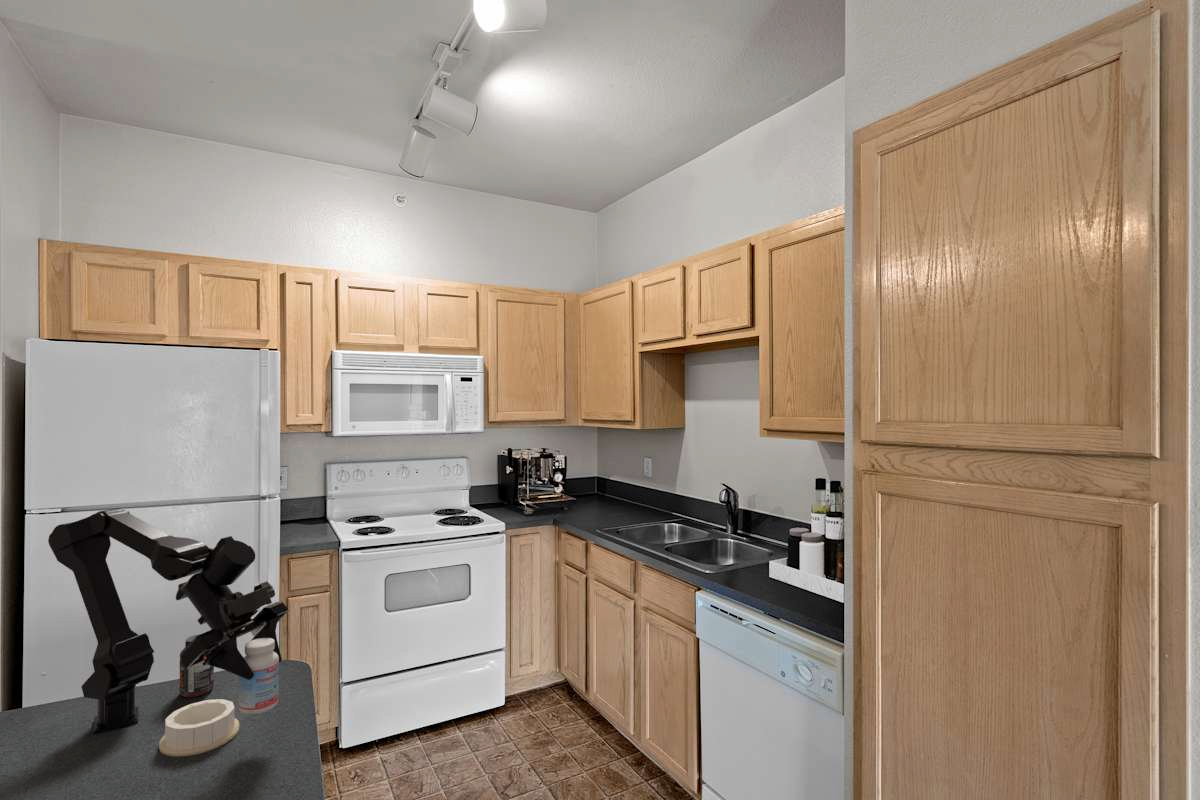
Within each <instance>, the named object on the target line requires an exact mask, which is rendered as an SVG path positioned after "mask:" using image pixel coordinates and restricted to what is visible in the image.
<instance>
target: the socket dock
mask: <svg viewBox="0 0 1200 800" xmlns="http://www.w3.org/2000/svg"><path fill="white" fill-rule="evenodd" d="M164 722H165V725H164V728H165V729H164V732H165V733H164V735H163V736H162V737H161V738H160V739H159V741H158V742H159V743H158V750H159V751H160V753H161V754H163V755H164V756H166V757H173V758H175V757H176V758H179V757H180V758H182V757H189V756H196V755H200V754H203V753H206V752H210V751H212V750H213V751H214V749H218V748H219V747H222V746H224V745H225V744H226V743H229V742H230V741H232V740H233V739H234V738H235V737H236V736H237V735H238V734H239V732H240V731H239V730H240V721H239V720H238V719H237V718H236V717H235V705H234V702H233V701H231V700H227V699H223V698H220V699H217V698H216V699H206V700H202V701H198V702H197V701H196V702H193V703H190V704H187V705H185V706H183V707H180V708H179V709H176V710H174V711H172V712H171V713H170V714H169V715H168V716H167V717H166V718H165V719H164Z"/></svg>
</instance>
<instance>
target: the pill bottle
mask: <svg viewBox="0 0 1200 800" xmlns="http://www.w3.org/2000/svg"><path fill="white" fill-rule="evenodd" d="M251 640H252V639H251ZM251 640H250V641H248V642H246V643H245V645H244V655H245V656H243V658H244V659H245V661H246V662H247V664H248V665H249V667H250V668H251V670H252V672H253V674H254V676H253V677H252V678H251V679H250V680H248V679H245V678H243V677H241V676H238V677H239V680H238V681H239V685H238V687H239V688H238V710H239V711H240V712H241V713H243V714H251V715H252V714H256V715H257V714H261V713H264V712H267V711H269V710H271V709H273V708H274V707H276V706H277V705H278V702H279V683H280V682H279V681H280V679H279V675H280V670H279V669H280V663H279V656H278V654H277V653H276V652H274V651H273V650H274V647H275V640H274V639H272V638H259V639H255V640H252V641H251Z"/></svg>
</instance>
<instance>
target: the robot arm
mask: <svg viewBox="0 0 1200 800" xmlns="http://www.w3.org/2000/svg"><path fill="white" fill-rule="evenodd" d="M111 538H112V539H114V540H116V541H117V542H119V543H121V544H122V545H124V546H126V547H128V548H129V549H132V551H135V552H136V553H138V554H141V555H142V556H145V557H146V559H148V560H150V564H151V565H150V566H151V569H152V570H153V571H154V572H156V573H158V575H159V576H160V577H162V578H163V579H165V580H167V581H168V582H169V581H170V582H171V581H172V582H173V581H176V580H180V579H184V578H187V577H189V576H190V578H188V580H187V581H185V582H182V583H179V584H178V587H177V588H178V589H177V591H176V595H175V600H176V601H180V600H183V599H185V598H188V599H189V601H190V603H191V604H192V606H194V608H195V609H196V611H197V612H198V613H199V614H200V617H199V618H198V619H197V622H198V623H199V625H200V626H201V625H203V624H207V626H208V627H209V628H210V629H209V630H207V631H206V632H203V633H200V635H198V634H197V635H198V636H196V637H195V638H194V640H193V641H192V642H191V643H190V644H189V645H188V646H187V647H186V646H185V647H186V648H185V647H184V648H185V649H184V648H183V649H184V650H183V649H182V650H183V651H182V650H181V651H182V652H181V651H180V653H181V662H182V663H183V664H184V666H185V667H186V668H187V669H189V668H191V667H193V666H195V665H197V664H199V663H201V662H202V661H203V659H204V654H205V657H206V658H207V659H206V660H205V661H204V662H203V663H202V664H203V665H204V666H206V665H211V666H214V668H218V669H220V670H223V671H226V672H229V673H231V674H234V675H236V676H238V677H239V676H241V677H243V678H245V679H248V680H250V679H251V678H252V677H253V676H254V674H253V672H252V670H251V668H250V667H249V665H248V664H247V662H246V661H245V659H244V656H243V655H242V653H241V652H240V650H239V649H238V639H237V638H239V637H241V636H244V635H247V634H248V633H251V634H252V636H253V637H252V639H251V640H250V641H252V640H255V639H259V638H272V639H274V640H275V647H274V650H273V651H274V652H276V653H277V654H278V656H279V664H280V663H281V662H282V661H283V660H282V659H283V658H282V655H281V650H280V646H279V642H278V638H277V631H276V630H277V625H278V623H279V622H280V621H281V620H282V618H283V617H285V615H287V613H288V612H289V608H288V607H287V605H285V603H284V602H283V601H276V602H274V603H273V602H272V598H274V597H275V595H276V592H275V589H274V587H273V586H272V585H271V584H270V582H268V580H267V581H264V582H261V583H260V584H256V585H255V586H253V591H251V592H248V593H246V594H243V593H242V592H241V591H236V592H233V591H232V590H231V588H230V587H229V586H230V585H232V584H234V583H235V582H236V581H237V580H238V579H239V578H240V577H241V576H242V574H243V573H245V571H246V570H247V569H248V568H249V567H250V566H251V565H252V564H253V563H254V561H255V560H256V553H255V552H256V551H254V548H252V546H251V545H248V544H247V543H245V542H244V541H243V542H242V541H241V540H235V539H234V538H233V536H232V535H230V536H229V535H228V536H226V537H222V538H220V539H219V540H218V542H217V543H216V546H214V548H212V547H209V546H208V545H207V544H205V543H204V542H202V541H199V540H196V539H193V538H189V537H180V536H179V537H178V536H173V535H170V534H168V533H166V532H165V531H162V530H161V529H158V528H157V527H155V526H154V525H151V524H150V523H148V522H146V521H144V520H142V519H140V518H139V517H136V516H135V515H133V514H131V512H130V511H129V510H128V509H127V508H121V507H118V508H112V509H105V510H101V511H100V510H99V511H97V512H96V513H93V514H92V515H90V516H88V517H85V518H81V519H80V520H75V521H74V522H67V523H62V524H59V525H57V526H55V527H54V528H53V529H52V532H51V533H50V534H49V536H48V545H49V547H50V549H51V552H52V553H53V555H54V556H55V558H56V561H57V562H58V563H60V564H62V565H63V566H64V567H66V568H68V569H69V570H70V571H72V573H73V575H74V578H75V581H76V584H77V586H78V589H79V592H80V595H81V597H82V601H83V603H84V606H85V609H86V612H87V616H88V618H89V621H90V623H91V626H92V629H93V632H94V635H95V637H96V641H97V645H96V649H95V652H94V655H93V658H92V667H93V670H94V671H93V672H92V673H91V675H90V676H89V677H88V678H87V680H85V681H84V683H83V684H82V685H81V691H82V695H83V697H84V698H85V699H86V698H88V699H91V700H92V699H94V700H96V716H95V717H94V720H93V721H94V722H93V734H96V733H97V734H98V733H101V732H104V731H109V730H113V729H117V728H120V727H126V726H128V725H133V724H136V723H138V722H139V707H138V706H136V701H137V698H136V696H137V694H136V692H137V690H136V688H137V685H138V684H140V683H142V682H146V681H147V680H148V678H149V676H150V673H151V670H152V667H153V664H154V663H155V658H154V653H155V650H154V648H153V647H152V645H151V643H150V637H149V636H148V634H147V633H145V632H144V633H141V634H138V633H136V632H135V631H133V630H132V629H131V627H130V624H129V622H128V618H127V616H126V613H125V611H124V606H123V605H122V602H121V599H120V597H119V594H118V591H117V588H116V585H115V582H114V580H113V576H112V573H111V571H110V568H109V564H108V562H107V556H108V554H109V551H110V549H111V546H112V543H111ZM265 605H266V606H265ZM263 606H264V607H263ZM261 607H263V608H262V609H261V610H260V611H259V609H260V608H261ZM258 611H259V612H258ZM253 616H254V618H252V617H253ZM203 653H204V654H203Z"/></svg>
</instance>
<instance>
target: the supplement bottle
mask: <svg viewBox="0 0 1200 800" xmlns="http://www.w3.org/2000/svg"><path fill="white" fill-rule="evenodd" d="M200 634H201V633H200ZM200 634H194V635H191V636H188V637H187V638H186V639H185V645H184V646H185V647H184V648H183V649H182V650H181V651H180V653H179V689H178V690H179V695H180V696H181V697H184V698H196V697H199V696H202V695H205V694H207V693H209V692H211V691H212V690H213V688H214V686H215V685H214V683H215V682H214V681H215V680H214V679H215V670H214V669H215V667H214V666H211V665H206V666H204V665H203V664H202V663H203V662H204V661H205V660H206V659H207V658H206V657H205V654H204V653H203V654H204V659H203V661H202V662H201V663H199V664H197V665H195V666H193V667H191V668H189V669H187V668H186V667H185V666H184V664H183V663H182V662H181V652H182V651H183V650H184V649H185V648H186V647H187V646H188V645H189V644H190V643H191V642H192V641H193V640H194V638H195V637H196V636H198V635H200Z"/></svg>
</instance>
